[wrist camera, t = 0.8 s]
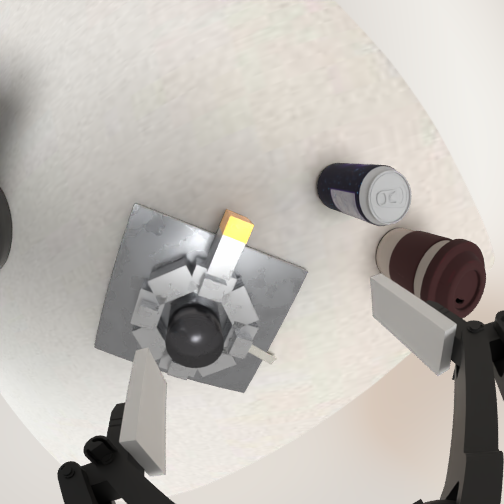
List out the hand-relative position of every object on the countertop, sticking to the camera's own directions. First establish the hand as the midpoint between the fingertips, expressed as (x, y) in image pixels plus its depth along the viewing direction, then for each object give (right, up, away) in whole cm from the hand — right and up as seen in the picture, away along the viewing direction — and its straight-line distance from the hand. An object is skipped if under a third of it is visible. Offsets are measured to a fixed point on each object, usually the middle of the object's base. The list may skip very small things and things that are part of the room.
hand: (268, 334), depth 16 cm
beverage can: (+9, +13, +20) cm, 26 cm away
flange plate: (-7, -2, +21) cm, 22 cm away
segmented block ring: (-7, 0, +20) cm, 21 cm away
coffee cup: (+19, +4, +24) cm, 31 cm away
